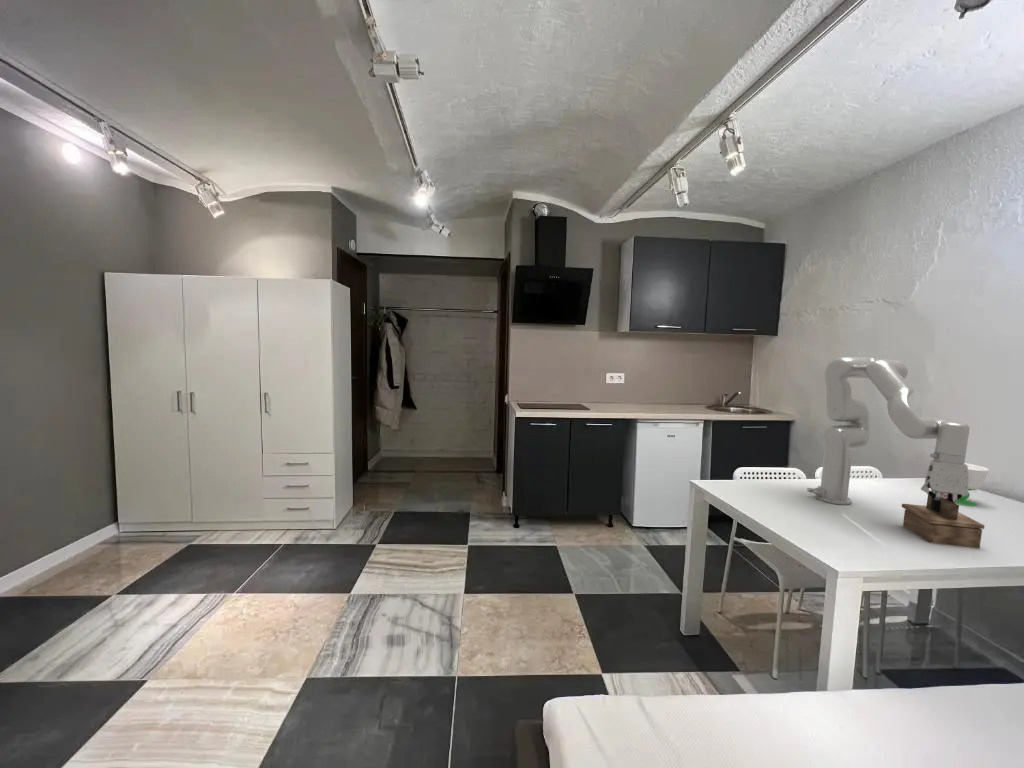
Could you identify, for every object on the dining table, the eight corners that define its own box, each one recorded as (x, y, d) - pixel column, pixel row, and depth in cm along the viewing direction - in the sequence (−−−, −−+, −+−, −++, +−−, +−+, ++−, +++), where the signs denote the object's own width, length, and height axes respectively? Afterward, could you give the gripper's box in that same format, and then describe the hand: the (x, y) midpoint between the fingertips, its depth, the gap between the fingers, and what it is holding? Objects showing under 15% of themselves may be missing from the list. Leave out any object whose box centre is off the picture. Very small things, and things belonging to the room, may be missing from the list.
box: (928, 545, 152) (931, 524, 151) (902, 528, 165) (904, 509, 165) (979, 550, 149) (982, 529, 148) (948, 533, 162) (951, 513, 162)
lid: (929, 526, 151) (932, 504, 150) (901, 509, 166) (903, 489, 165) (983, 531, 148) (987, 510, 147) (950, 514, 163) (953, 494, 162)
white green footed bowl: (938, 494, 207) (942, 459, 205) (981, 502, 198) (986, 466, 197) (940, 502, 196) (945, 465, 195) (986, 510, 188) (991, 472, 186)
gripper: (928, 458, 152) (920, 512, 155) (987, 463, 149) (978, 518, 151) (913, 453, 160) (906, 504, 162) (969, 457, 156) (961, 510, 158)
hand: (941, 510), depth 156 cm, fingers closed on lid, 3 cm apart
